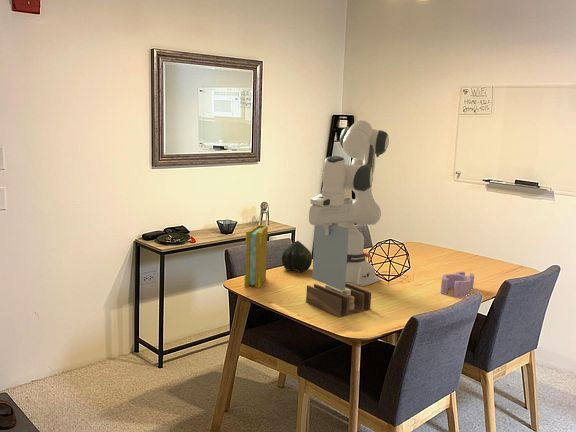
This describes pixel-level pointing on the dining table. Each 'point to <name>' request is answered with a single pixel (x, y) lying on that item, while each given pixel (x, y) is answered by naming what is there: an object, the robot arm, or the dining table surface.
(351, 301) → the offcut middle
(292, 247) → the squash
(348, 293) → the offcut top
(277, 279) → the dining table surface
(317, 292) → the rack
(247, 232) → the book
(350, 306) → the offcut bottom
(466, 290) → the clip
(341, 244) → the sheet
